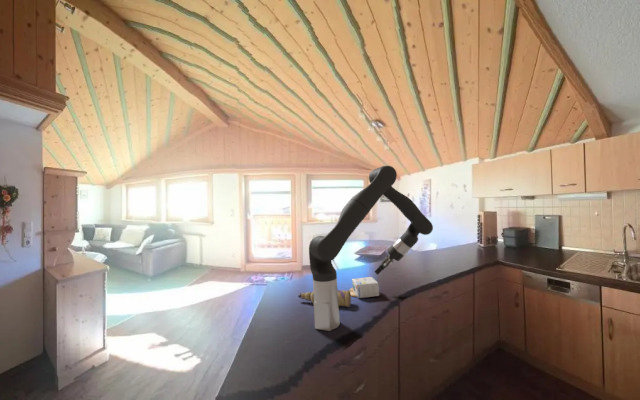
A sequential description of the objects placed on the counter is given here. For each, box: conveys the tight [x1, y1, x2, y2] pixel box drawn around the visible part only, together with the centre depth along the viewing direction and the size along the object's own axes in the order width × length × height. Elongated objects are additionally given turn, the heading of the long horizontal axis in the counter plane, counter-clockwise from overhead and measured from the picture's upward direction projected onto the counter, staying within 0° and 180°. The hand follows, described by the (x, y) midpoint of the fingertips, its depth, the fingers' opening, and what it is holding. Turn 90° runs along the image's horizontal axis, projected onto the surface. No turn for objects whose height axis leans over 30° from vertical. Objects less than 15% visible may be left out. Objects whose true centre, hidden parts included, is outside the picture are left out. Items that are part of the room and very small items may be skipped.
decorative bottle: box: [297, 289, 352, 308], centre depth 111 cm, size 26×8×7 cm, turn 68°
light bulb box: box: [351, 276, 380, 299], centre depth 119 cm, size 11×7×11 cm
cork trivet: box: [348, 287, 358, 298], centre depth 122 cm, size 12×10×1 cm
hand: (376, 273), depth 121 cm, fingers closed
